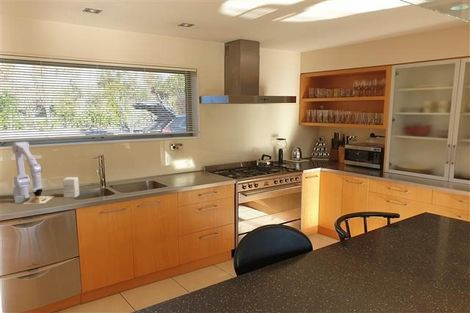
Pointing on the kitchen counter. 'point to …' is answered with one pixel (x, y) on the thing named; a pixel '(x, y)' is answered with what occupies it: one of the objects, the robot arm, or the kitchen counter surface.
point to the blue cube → (20, 199)
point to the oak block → (35, 199)
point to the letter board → (44, 199)
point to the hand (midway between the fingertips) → (38, 199)
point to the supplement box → (71, 187)
